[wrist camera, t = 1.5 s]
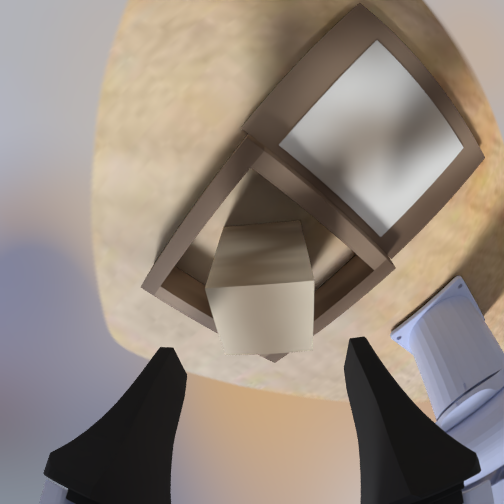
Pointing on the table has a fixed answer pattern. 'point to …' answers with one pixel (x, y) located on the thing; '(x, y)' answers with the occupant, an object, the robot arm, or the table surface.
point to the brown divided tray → (341, 161)
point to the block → (262, 289)
